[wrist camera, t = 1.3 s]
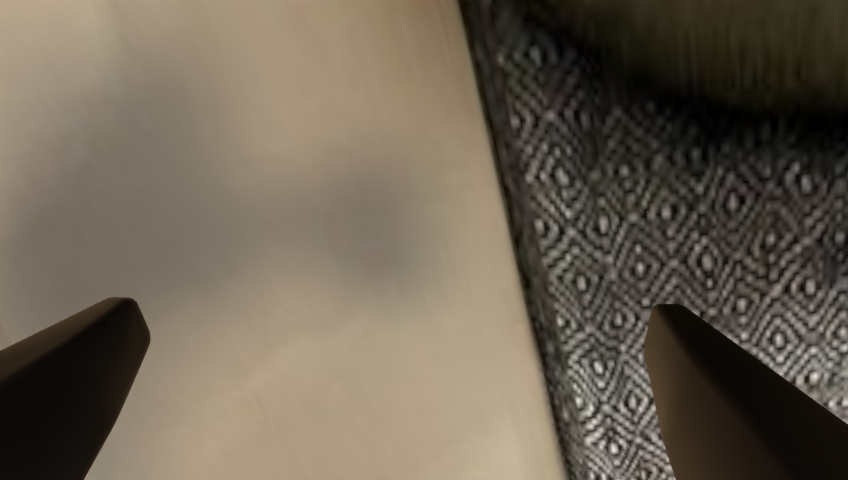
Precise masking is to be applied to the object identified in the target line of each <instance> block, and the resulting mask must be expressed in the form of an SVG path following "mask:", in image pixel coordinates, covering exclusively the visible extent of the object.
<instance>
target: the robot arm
mask: <svg viewBox="0 0 848 480" xmlns="http://www.w3.org/2000/svg"><path fill="white" fill-rule="evenodd" d="M149 344H150V331H149V329H148V326H147V324H146V322H145V319H144V317H143V315H142V313H141V310H140V308H139V306H138V304H137V302H136V301H135V300H134V299H132V298H120V297H113V298H107V299H105V300H103V301H101V302H99V303H97V304H95V305H93V306H91V307H89V308H87V309H85V310H83V311H81V312H79V313H77V314H74V315H72V316H70V317H68V318H66V319H64V320H62V321H60V322H58V323H56V324H54V325H52V326H50V327H48V328H46V329H44V330H42V331H40V332H38V333H36V334H34V335H32V336H30V337H28V338H26V339H24V340H22V341H20V342H18V343H15V344H13V345H11V346H9V347H7V348H5V349H3V350H1V351H0V480H84V478H85V477H86V475H87V473H88V471H89V469H90V468H91V466H92V464H93V462H94V460H95V459H96V457H97V455H98V453H99V451H100V450H101V448H102V446H103V444H104V442H105V441H106V439H107V437H108V435H109V433H110V432H111V430H112V428H113V426H114V424H115V422H116V420H117V418H118V416H119V414H120V412H121V409H122V407H123V405H124V403H125V400H126V398H127V396H128V393H129V391H130V389H131V386H132V384H133V382H134V379H135V377H136V375H137V373H138V370H139V368H140V366H141V363H142V361H143V359H144V356H145V354H146V352H147V349H148V347H149ZM644 349H645V358H646V363H647V368H648V372H649V377H650V382H651V387H652V391H653V396H654V401H655V405H656V410H657V415H658V420H659V424H660V429H661V433H662V437H663V442H664V445H665V448H666V451H667V455H668V458H669V461H670V464H671V466H672V469H673V472H674V475H675V478H676V480H848V424H846V423H845V422H844V421H842V420H841V419H839V418H838V417H837V416H835V415H834V414H832V413H831V412H830V411H828V410H827V409H826V408H824V407H823V406H821V405H820V404H819V403H817V402H816V401H815V400H813V399H812V398H810V397H809V396H808V395H806V394H805V393H803V392H802V391H801V390H799V389H798V388H797V387H795V386H794V385H792V384H791V383H790V382H788V381H787V380H785V379H784V378H783V377H781V376H780V375H779V374H777V373H776V372H774V371H773V370H772V369H770V368H769V367H767V366H766V365H765V364H763V363H762V362H761V361H759V360H758V359H756V358H755V357H754V356H752V355H751V354H749V353H748V352H747V351H745V350H744V349H743V348H741V347H740V346H738V345H737V344H736V343H734V342H733V341H731V340H730V339H729V338H727V337H726V336H725V335H723V334H722V333H720V332H719V331H718V330H716V329H715V328H714V327H712V326H711V325H709V324H708V323H707V322H705V321H704V320H702V319H701V318H700V317H698V316H697V315H696V314H694V313H693V312H691V311H690V310H689V309H687V308H686V307H684V306H683V305H679V304H657V305H655V306H654V307H653V309H652V311H651V316H650V320H649V325H648V330H647V334H646V339H645V346H644Z"/></svg>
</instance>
